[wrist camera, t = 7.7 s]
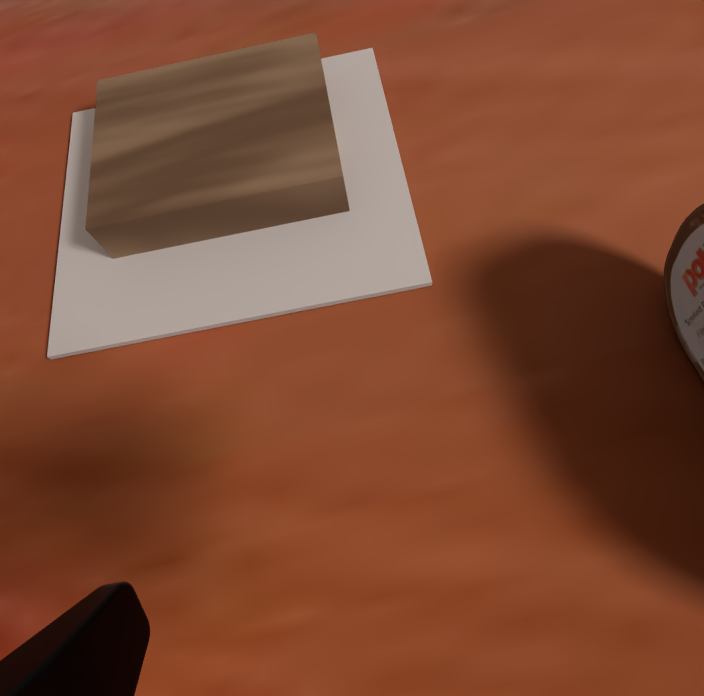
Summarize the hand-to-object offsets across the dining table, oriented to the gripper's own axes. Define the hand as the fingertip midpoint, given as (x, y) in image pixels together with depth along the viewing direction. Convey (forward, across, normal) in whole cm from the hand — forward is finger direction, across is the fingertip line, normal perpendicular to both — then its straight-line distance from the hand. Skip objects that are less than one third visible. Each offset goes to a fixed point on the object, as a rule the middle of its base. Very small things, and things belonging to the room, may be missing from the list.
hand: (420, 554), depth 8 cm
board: (+18, +7, -5) cm, 21 cm away
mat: (+22, +7, -7) cm, 24 cm away
